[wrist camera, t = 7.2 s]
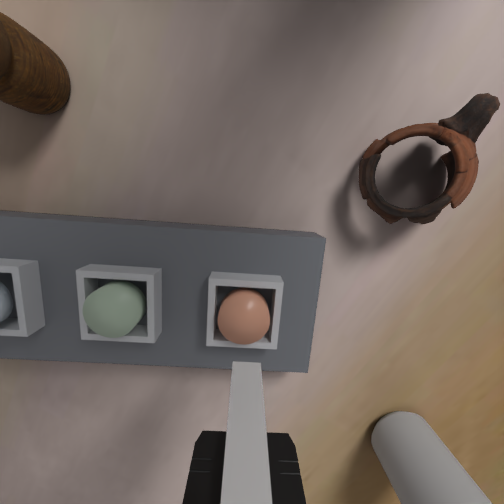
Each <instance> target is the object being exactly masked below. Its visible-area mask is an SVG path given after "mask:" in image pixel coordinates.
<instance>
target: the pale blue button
mask: <svg viewBox="0 0 504 504" xmlns="http://www.w3.org/2000/svg"><path fill="white" fill-rule="evenodd" d="M12 309H13V299H12V296H11V294H10V292H9V290H8V289H7V287H6V286H5V285H4V284H3V283H1V282H0V322H2V321H3V320H5V319H6V318H8V317H9V315H10V314H11V312H12Z"/></svg>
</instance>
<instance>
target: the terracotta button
mask: <svg viewBox="0 0 504 504" xmlns="http://www.w3.org/2000/svg"><path fill="white" fill-rule="evenodd" d="M269 326H270V315H269V310H268V305H267V302H266V300H265V298H264V297H263V296H262V295H261V294H260V293H259V292H258V291H256V290H254V289H250V288H238V289H235V290H233V291H231V292H229V293H228V294H227V295H226V296H225V297H224V299H223V300H222V302H221V306H220V310H219V314H218V327H219V330H220V332H221V333H222V335H223V336H224V337H225V338H226V339H228V340H229V341H231V342H233V343H236V344H242V345H246V344H251V343H254V342H256V341H258V340H260V339H261V338H262V337H263V336H264V335H265V334H266V333H267V331H268V329H269Z"/></svg>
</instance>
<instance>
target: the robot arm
mask: <svg viewBox="0 0 504 504" xmlns="http://www.w3.org/2000/svg"><path fill="white" fill-rule="evenodd" d="M183 504H306V500H305V495H304V490H303V484H302V479H301V476H300V469H299V463H298V458H297V453H296V448H295V445H294V443H293V441H292V440H291V438H290V436H289V434H288V433H267V432H266V420H265V407H264V395H263V383H262V370H261V363H255V362H236V361H233V364H232V375H231V387H230V399H229V410H228V422H227V432H223V431H202V433H201V434H200V436H199V438H198V439H197V441H196V442H195V446H194V451H193V456H192V460H191V465H190V471H189V475H188V480H187V484H186V489H185V494H184V499H183Z"/></svg>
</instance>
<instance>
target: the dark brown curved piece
mask: <svg viewBox="0 0 504 504" xmlns="http://www.w3.org/2000/svg"><path fill="white" fill-rule="evenodd" d="M499 106H500V103H499V100H498V97H496V96H492V95H490V94H489V93H485V94H477V95H476V96H474V97H473V98H472V99H471V100H470V101H469V102H468V103H467V104H466V105H465V106H464V107H463V108H462V109H461V110H460V111H459V112H458V113H456V114H455V115H454V116H452V117H450V118H447V119H442V120H439V123H424V124H415V125H411V126H407V127H405V128H401V129H398V130H396V131H394V132H392V133H390V134H388V135H387V136H385V137H384V138H383V139H382V140H378V139H376V140H375V141H374V142H373V143H372V144H371V145H370V146H369V147H368V149H367V150H366V152H365V153H364V155H363V157H362V158H363V159H362V160H361V161H360V164H359V187H360V191H361V194H362V197H363V199H367V205H368V206H369V207H370V208H371V209H372V210H373V211H375V212H376V213H377V214H379V215H380V216H381V217H382V218H383V219H385V221H386V222H388V223H389V224H392V223H394V222H396V221H398V220H400V219H402V218H404V217H405V218H406V217H407V218H408V219H409V220H410V221H412V222H414V223H421V224H426V223H430V222H432V221H434V220H435V218H436V217H437V216H438V215H439V213H440V212H441V210H442V209H443V208H445V207H446V206H447V205H448V204H450V203H451V207H452V208H456V207H457V206H458V205H460V204H461V203H462V202H463V201H464V200H465V198H466V197H467V196H468V194H469V193H470V191H471V189H472V187H473V185H474V183H475V180H476V176H477V172H478V163H479V160H478V157H477V154H476V146H475V142H476V141H477V139H478V137H479V135H480V134H481V132H482V131H483V130H484V128H485V127H486V125H487V124H488V123H489V121H490V120H491V117H492V115H493V114H494V113H495V111H497V110H498V108H499ZM414 136H429V137H430V138H432V139H433V140H435V141H436V142H437V143H438V144H440V145H445V146H448V147H449V148H450V150H451V151H449V152H448V153H446V154H444V155H442V156H441V159H442V160H443V162H444V163H445V166H446V168H447V173H448V181H447V185H446V188H445V190H444V192H443V193H442V194H441V196H440V197H439V198H438V199H436V200H435V201H433V202H431V203H429V204H427V205H425V206H421V207H417V208H405V209H404V208H399V207H396V206H393V205H391V204H389V203H388V202H386V201H385V200H384V199H383V198H382V197H381V195H380V194H379V192H378V190H377V187H376V184H375V171H376V167H377V164H378V162H379V160H380V157H381V155H380V154H381V153H382V151H383V150H384V149H385V148H387V147H388V146H389V145H394V144H395V143H397V142H399V141H401V140H403V139H406V138H409V137H414Z"/></svg>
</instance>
